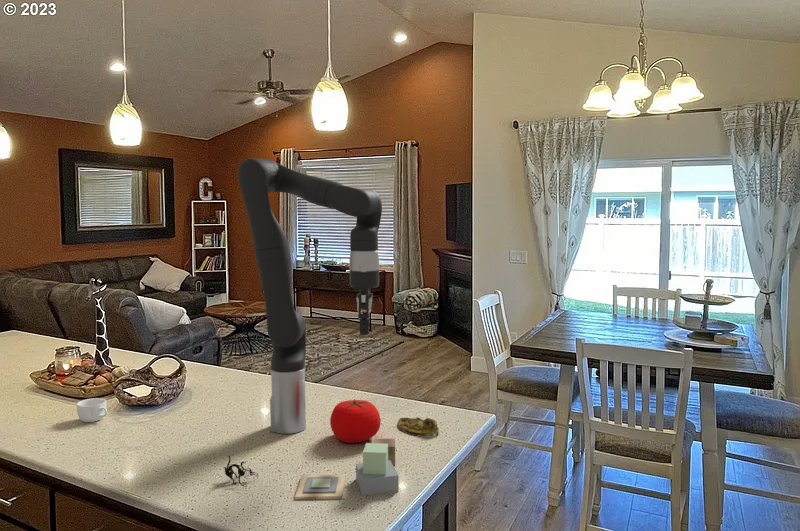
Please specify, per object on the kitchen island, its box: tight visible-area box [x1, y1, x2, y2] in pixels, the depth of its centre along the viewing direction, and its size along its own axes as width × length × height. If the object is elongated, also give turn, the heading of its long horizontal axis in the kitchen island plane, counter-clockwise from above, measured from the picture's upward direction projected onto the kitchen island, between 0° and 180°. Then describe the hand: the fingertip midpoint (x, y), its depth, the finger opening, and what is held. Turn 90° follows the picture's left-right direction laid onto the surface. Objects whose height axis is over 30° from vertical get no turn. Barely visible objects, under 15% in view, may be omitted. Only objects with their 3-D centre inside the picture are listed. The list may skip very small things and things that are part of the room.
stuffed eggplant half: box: [397, 417, 440, 437], centre depth 164 cm, size 9×5×15 cm
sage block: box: [362, 442, 388, 475], centre depth 130 cm, size 5×5×5 cm
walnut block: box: [374, 438, 396, 467], centre depth 142 cm, size 5×5×5 cm
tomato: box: [329, 398, 382, 444], centre depth 157 cm, size 14×13×10 cm
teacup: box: [76, 397, 108, 423], centre depth 172 cm, size 10×8×5 cm
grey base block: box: [355, 460, 399, 497], centre depth 131 cm, size 8×8×4 cm
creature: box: [222, 455, 259, 488], centre depth 133 cm, size 8×5×8 cm
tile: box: [294, 474, 346, 500], centre depth 129 cm, size 10×10×1 cm
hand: (364, 331), depth 151 cm, fingers open, 8 cm apart
